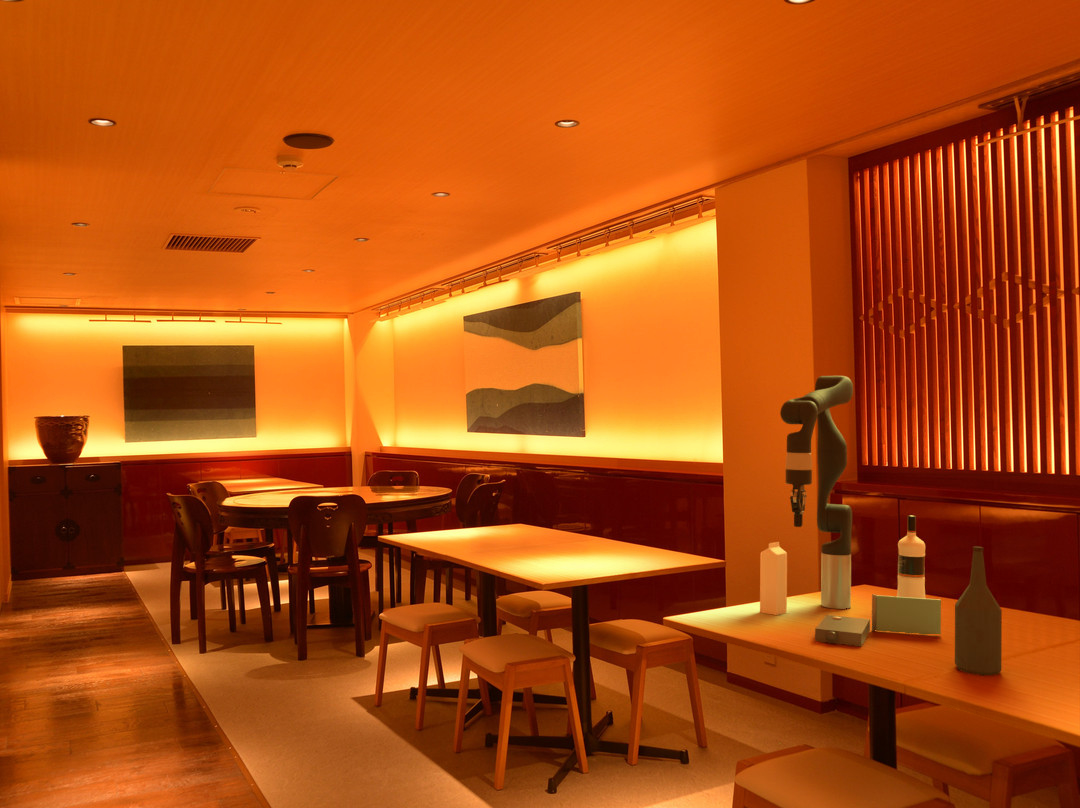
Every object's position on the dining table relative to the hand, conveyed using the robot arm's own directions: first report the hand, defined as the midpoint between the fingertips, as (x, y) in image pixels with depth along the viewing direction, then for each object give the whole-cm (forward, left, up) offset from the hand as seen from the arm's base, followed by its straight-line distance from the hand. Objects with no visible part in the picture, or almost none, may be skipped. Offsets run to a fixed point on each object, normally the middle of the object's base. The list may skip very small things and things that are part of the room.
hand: (798, 526), depth 265 cm
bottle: (+28, +48, -29) cm, 63 cm away
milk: (-14, -10, -29) cm, 34 cm away
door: (-4, +29, -29) cm, 41 cm away
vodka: (-45, +28, -29) cm, 61 cm away
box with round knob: (+8, +14, -29) cm, 33 cm away
